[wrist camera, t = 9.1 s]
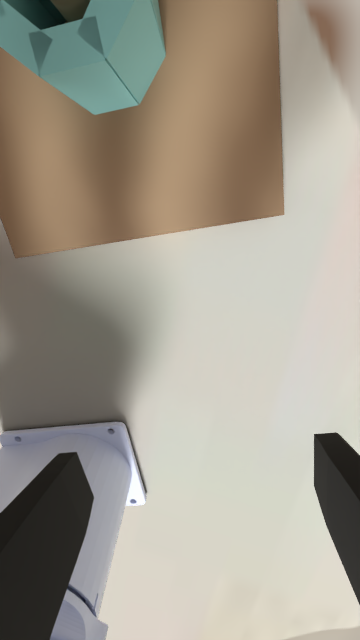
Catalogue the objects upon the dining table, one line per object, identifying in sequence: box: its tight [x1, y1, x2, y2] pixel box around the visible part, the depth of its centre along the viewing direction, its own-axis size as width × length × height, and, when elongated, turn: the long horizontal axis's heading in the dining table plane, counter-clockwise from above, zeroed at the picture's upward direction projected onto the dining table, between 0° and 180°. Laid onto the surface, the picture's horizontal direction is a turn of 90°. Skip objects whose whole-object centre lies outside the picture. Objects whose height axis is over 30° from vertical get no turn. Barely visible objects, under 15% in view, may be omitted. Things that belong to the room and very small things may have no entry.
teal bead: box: [0, 0, 166, 115], centre depth 10 cm, size 5×5×5 cm
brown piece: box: [0, 0, 284, 258], centre depth 10 cm, size 14×16×7 cm
